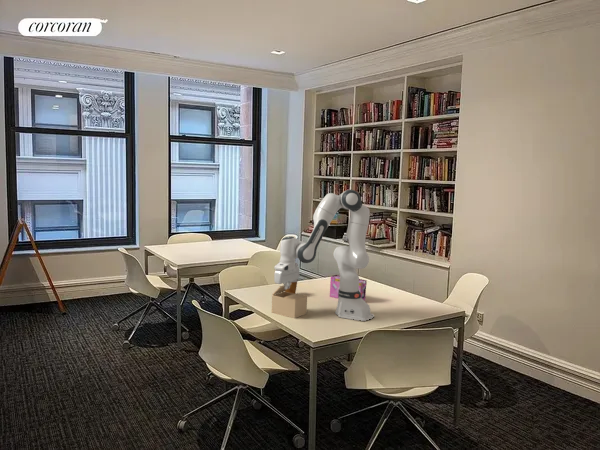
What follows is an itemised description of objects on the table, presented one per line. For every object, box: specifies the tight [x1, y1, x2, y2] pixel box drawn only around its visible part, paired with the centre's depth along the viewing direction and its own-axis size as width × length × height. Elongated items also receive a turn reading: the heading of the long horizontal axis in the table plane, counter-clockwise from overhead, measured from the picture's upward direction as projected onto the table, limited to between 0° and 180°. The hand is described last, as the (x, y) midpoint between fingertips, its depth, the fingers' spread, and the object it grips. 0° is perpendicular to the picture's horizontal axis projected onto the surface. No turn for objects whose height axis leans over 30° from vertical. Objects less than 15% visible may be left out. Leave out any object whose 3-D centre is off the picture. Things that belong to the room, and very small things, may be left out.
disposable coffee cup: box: [284, 278, 299, 294], centre depth 322 cm, size 10×10×12 cm
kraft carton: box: [271, 291, 308, 319], centre depth 283 cm, size 16×12×10 cm
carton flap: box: [271, 283, 292, 296], centre depth 285 cm, size 8×11×1 cm
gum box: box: [329, 274, 368, 302], centre depth 320 cm, size 24×8×14 cm, turn 56°
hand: (287, 288), depth 283 cm, fingers closed, pressing on carton flap
